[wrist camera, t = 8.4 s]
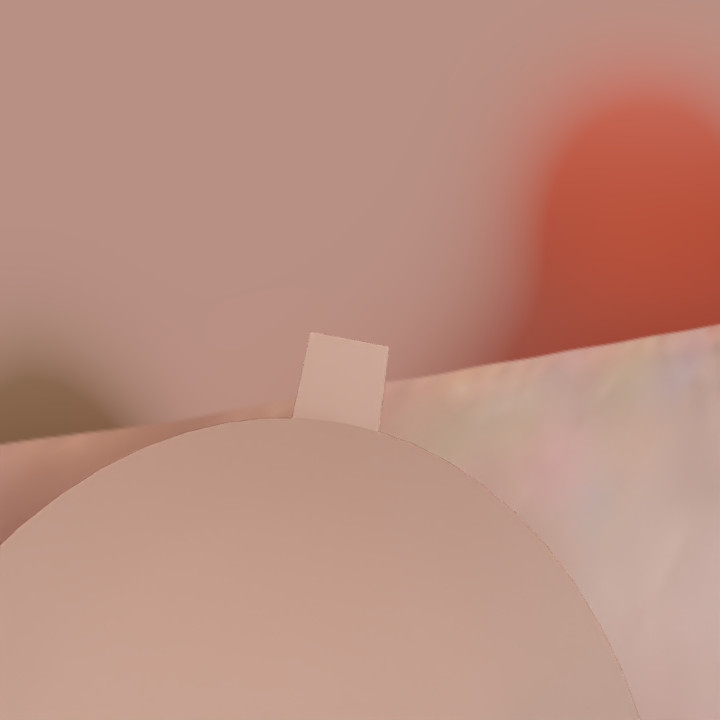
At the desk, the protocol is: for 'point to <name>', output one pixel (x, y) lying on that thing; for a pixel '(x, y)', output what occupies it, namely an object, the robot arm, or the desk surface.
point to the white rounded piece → (295, 581)
